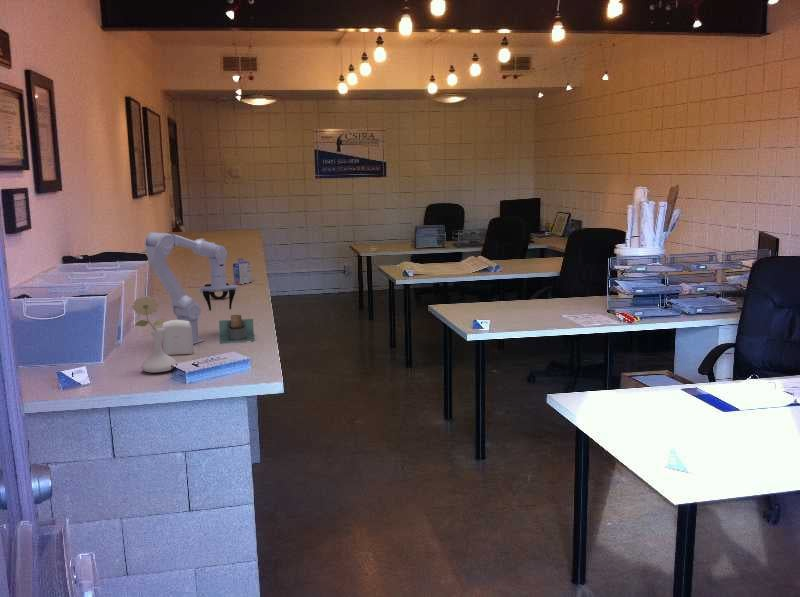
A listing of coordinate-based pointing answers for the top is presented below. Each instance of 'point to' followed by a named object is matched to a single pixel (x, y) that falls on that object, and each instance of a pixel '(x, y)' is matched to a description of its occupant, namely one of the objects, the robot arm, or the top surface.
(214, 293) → the controller
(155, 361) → the flower in vase
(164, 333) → the photo printer
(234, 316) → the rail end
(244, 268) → the ink cartridge box
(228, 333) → the cup bracket
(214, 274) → the robot arm
